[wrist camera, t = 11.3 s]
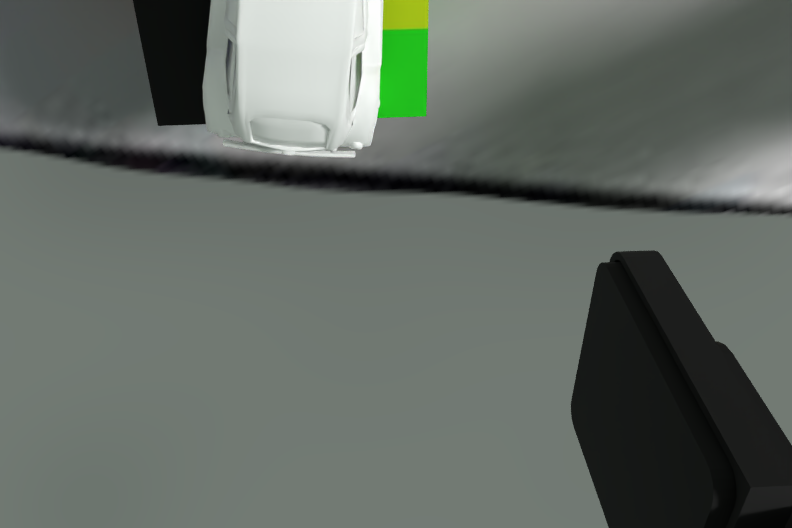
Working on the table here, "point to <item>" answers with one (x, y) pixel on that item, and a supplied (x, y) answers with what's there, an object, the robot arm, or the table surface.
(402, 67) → the puzzle toy
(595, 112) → the table surface
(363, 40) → the car
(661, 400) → the robot arm
